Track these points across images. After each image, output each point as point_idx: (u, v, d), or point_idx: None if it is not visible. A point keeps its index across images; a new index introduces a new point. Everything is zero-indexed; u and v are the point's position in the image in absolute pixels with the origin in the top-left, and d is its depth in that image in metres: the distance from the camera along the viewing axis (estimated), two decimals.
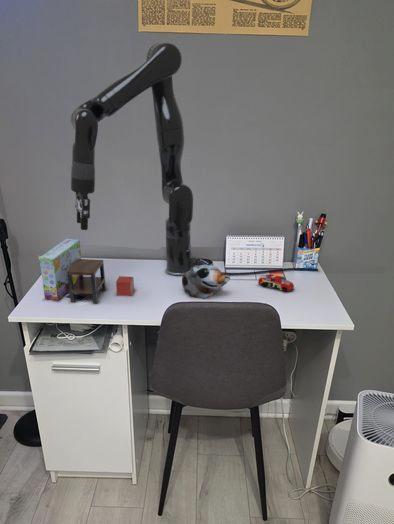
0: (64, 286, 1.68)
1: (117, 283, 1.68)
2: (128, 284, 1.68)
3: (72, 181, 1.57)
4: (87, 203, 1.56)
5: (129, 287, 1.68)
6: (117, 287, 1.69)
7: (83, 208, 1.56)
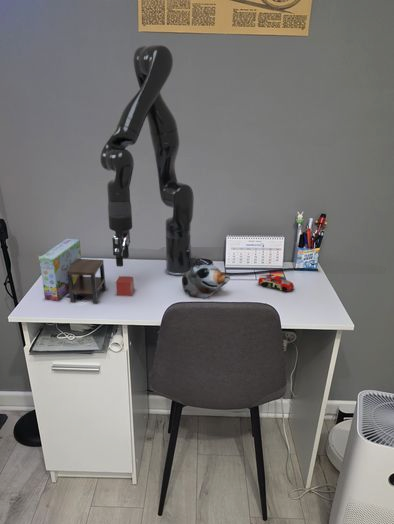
0: (64, 286, 1.68)
1: (117, 283, 1.68)
2: (128, 284, 1.68)
3: None
4: (117, 241, 1.56)
5: (129, 287, 1.68)
6: (117, 287, 1.69)
7: (114, 246, 1.57)
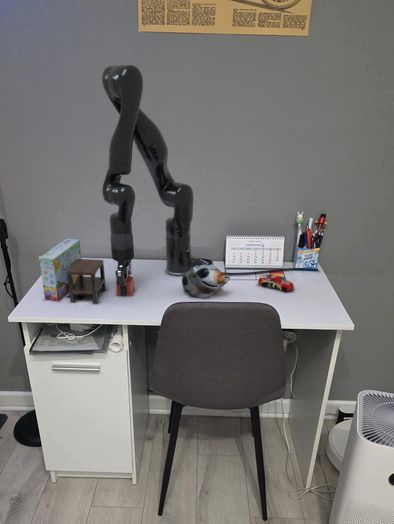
0: (64, 286, 1.68)
1: None
2: (128, 284, 1.68)
3: (111, 250, 1.63)
4: (120, 275, 1.62)
5: (129, 287, 1.68)
6: (117, 287, 1.69)
7: (117, 278, 1.63)
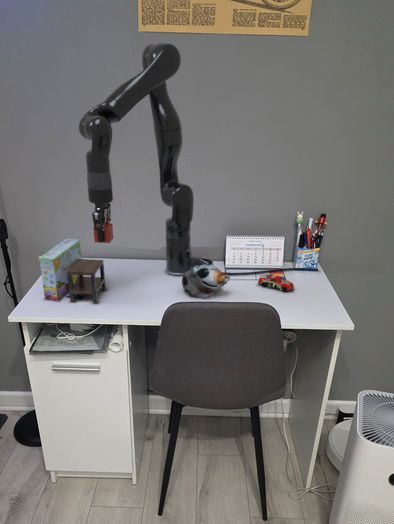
0: (64, 286, 1.68)
1: None
2: (106, 230, 1.56)
3: (88, 191, 1.52)
4: (97, 217, 1.51)
5: (107, 233, 1.57)
6: (95, 233, 1.57)
7: (94, 222, 1.52)
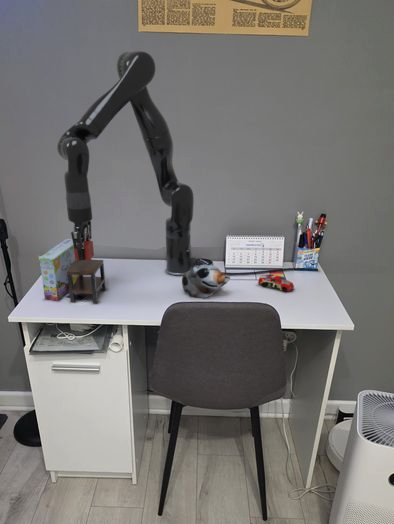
0: (64, 286, 1.68)
1: None
2: (86, 248, 1.58)
3: (67, 210, 1.54)
4: (76, 236, 1.52)
5: (87, 251, 1.59)
6: (75, 251, 1.59)
7: (73, 241, 1.53)
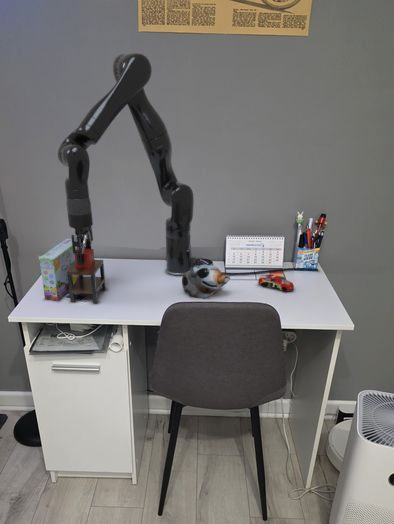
0: (64, 286, 1.68)
1: (76, 255, 1.60)
2: (87, 256, 1.60)
3: (68, 216, 1.55)
4: (76, 239, 1.52)
5: (88, 259, 1.60)
6: (76, 259, 1.61)
7: (73, 244, 1.53)
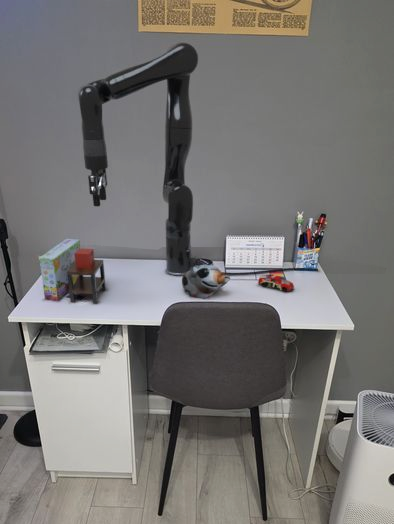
0: (64, 286, 1.68)
1: (76, 255, 1.60)
2: (87, 256, 1.60)
3: (84, 158, 1.62)
4: (93, 179, 1.59)
5: (88, 259, 1.60)
6: (76, 259, 1.61)
7: (90, 184, 1.60)
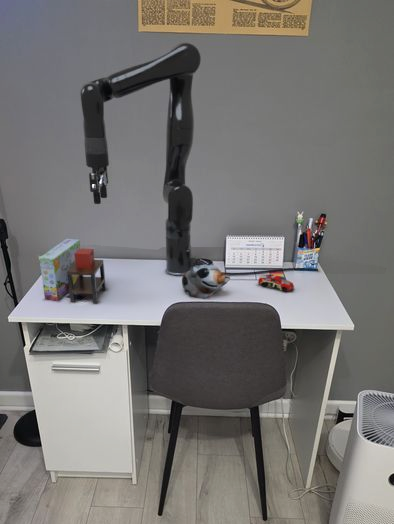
0: (64, 286, 1.68)
1: (76, 255, 1.60)
2: (87, 256, 1.60)
3: (85, 156, 1.62)
4: (94, 177, 1.60)
5: (88, 259, 1.60)
6: (76, 259, 1.61)
7: (90, 182, 1.61)
